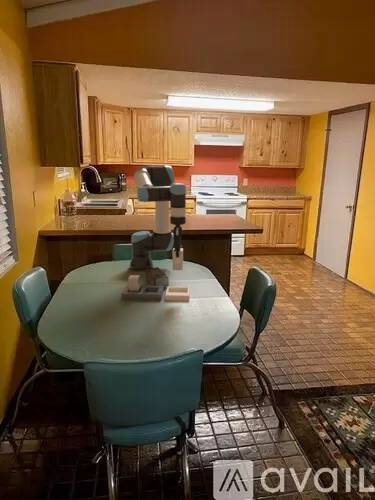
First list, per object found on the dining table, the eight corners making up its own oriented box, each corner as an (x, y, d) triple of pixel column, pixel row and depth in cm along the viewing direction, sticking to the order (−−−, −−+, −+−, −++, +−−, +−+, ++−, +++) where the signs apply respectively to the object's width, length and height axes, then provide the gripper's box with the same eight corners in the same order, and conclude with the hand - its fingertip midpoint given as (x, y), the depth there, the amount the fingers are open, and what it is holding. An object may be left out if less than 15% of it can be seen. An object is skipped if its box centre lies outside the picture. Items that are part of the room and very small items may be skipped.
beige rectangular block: (130, 293, 179) (130, 275, 176) (140, 293, 179) (139, 275, 176) (129, 296, 174) (128, 278, 172) (138, 296, 174) (138, 278, 172)
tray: (167, 291, 182) (167, 286, 181) (189, 291, 182) (189, 286, 181) (165, 300, 171) (165, 295, 170) (189, 300, 170) (189, 295, 170)
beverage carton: (155, 289, 185) (155, 277, 183) (145, 278, 202) (145, 267, 200) (169, 287, 188) (169, 276, 186) (158, 276, 205) (158, 266, 203)
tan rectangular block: (173, 267, 175) (173, 248, 172) (182, 267, 175) (183, 248, 172) (172, 270, 170) (172, 250, 167) (182, 270, 170) (182, 250, 167)
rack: (126, 290, 182) (126, 285, 182) (163, 291, 182) (163, 285, 181) (121, 299, 171) (121, 293, 170) (161, 300, 171) (161, 294, 170)
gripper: (171, 212, 174) (171, 256, 180) (168, 218, 157) (169, 266, 163) (186, 213, 174) (185, 256, 180) (185, 219, 157) (184, 267, 163)
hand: (177, 261), depth 171 cm, fingers closed on tan rectangular block, 5 cm apart
